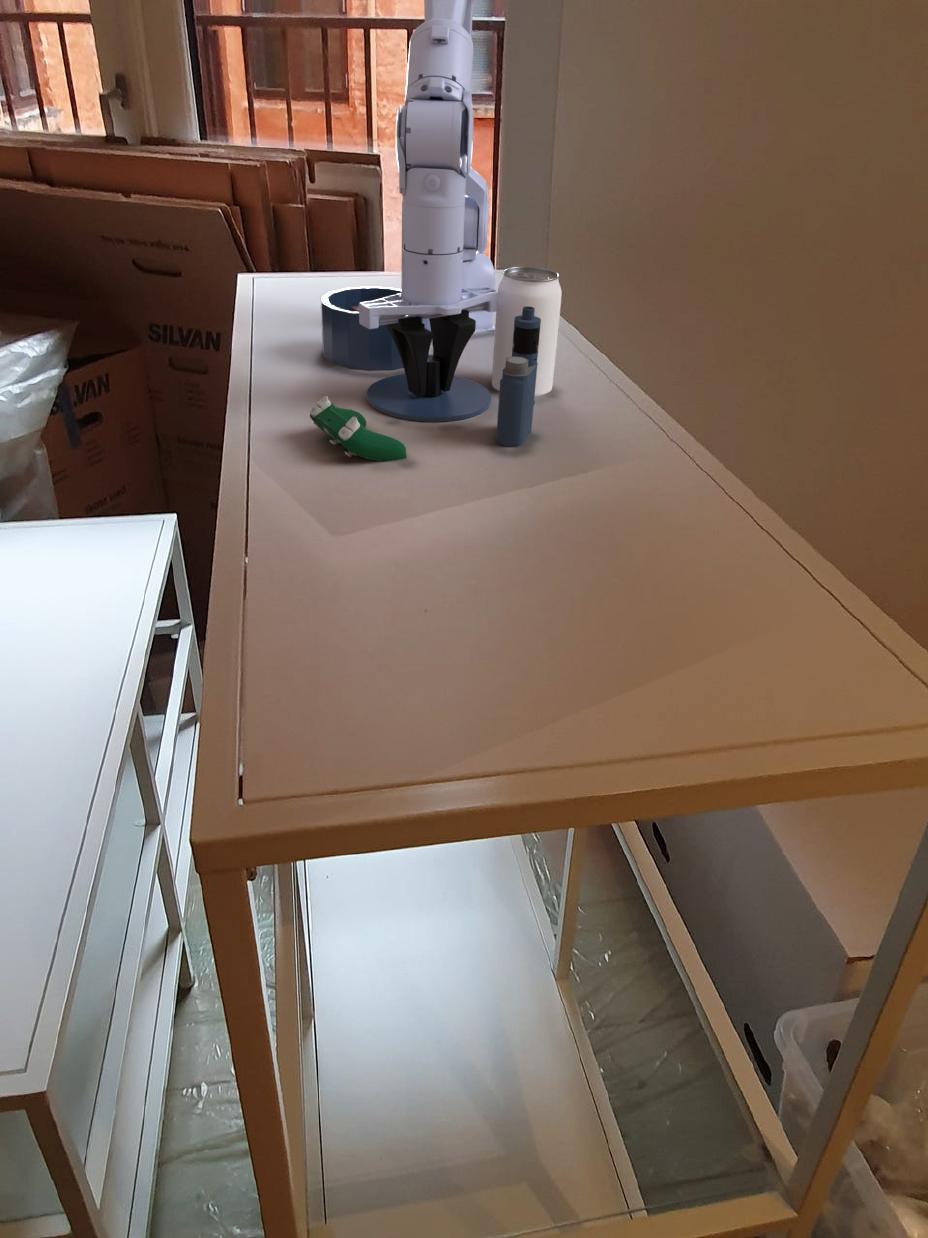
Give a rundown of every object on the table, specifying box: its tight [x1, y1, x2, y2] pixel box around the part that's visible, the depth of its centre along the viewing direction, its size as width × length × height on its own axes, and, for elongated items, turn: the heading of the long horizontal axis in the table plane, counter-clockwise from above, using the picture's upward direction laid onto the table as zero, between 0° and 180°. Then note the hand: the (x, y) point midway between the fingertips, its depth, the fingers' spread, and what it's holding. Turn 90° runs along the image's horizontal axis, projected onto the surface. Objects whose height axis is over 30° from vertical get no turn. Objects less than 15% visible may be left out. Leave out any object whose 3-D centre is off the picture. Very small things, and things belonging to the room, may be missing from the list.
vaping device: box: [495, 306, 541, 448], centre depth 82 cm, size 3×5×12 cm, turn 161°
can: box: [491, 266, 563, 397], centre depth 94 cm, size 6×6×12 cm
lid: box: [366, 354, 492, 423], centre depth 91 cm, size 13×13×5 cm
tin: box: [320, 286, 428, 372], centre depth 102 cm, size 12×12×6 cm
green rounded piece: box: [309, 395, 407, 462], centre depth 81 cm, size 9×4×6 cm
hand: (429, 390), depth 92 cm, fingers closed on lid, 2 cm apart
